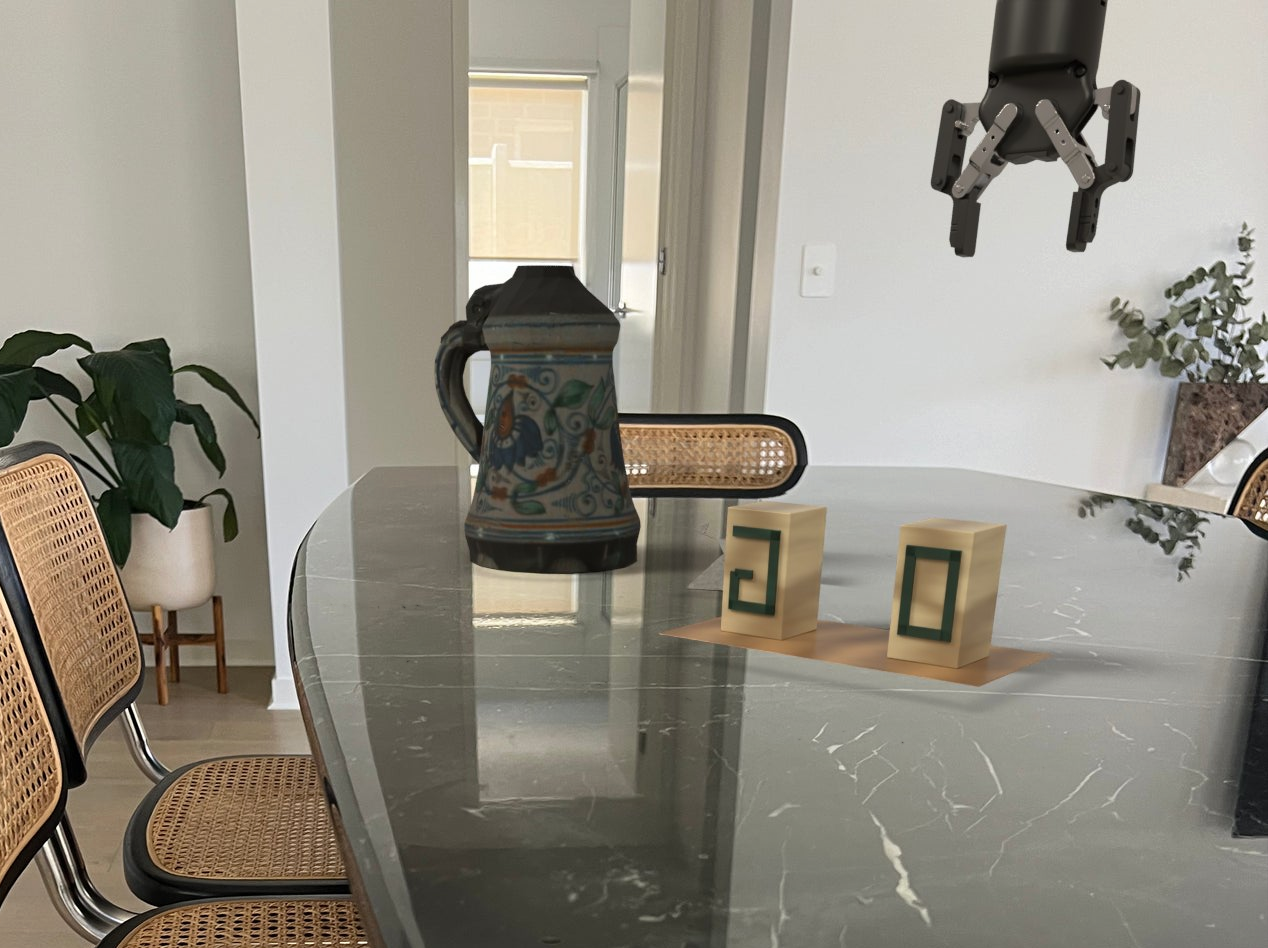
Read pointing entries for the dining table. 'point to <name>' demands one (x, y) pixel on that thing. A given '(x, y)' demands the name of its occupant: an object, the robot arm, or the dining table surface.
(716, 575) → the paper boat
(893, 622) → the letter O
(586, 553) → the beer stein
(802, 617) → the letter G
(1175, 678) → the dining table surface
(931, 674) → the word mat
